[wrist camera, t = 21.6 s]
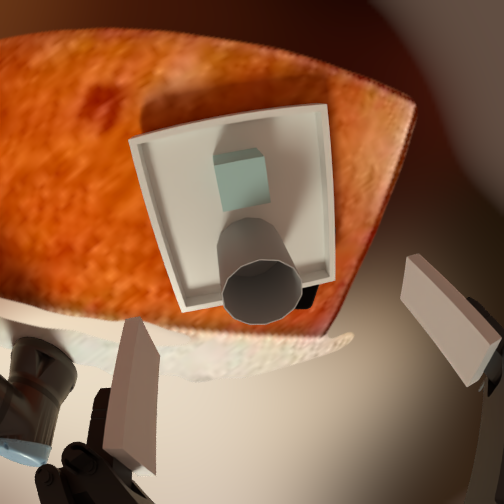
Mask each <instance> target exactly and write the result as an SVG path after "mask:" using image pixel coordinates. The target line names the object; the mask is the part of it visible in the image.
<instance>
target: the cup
mask: <svg viewBox="0 0 504 504" xmlns="http://www.w3.org/2000/svg"><path fill="white" fill-rule="evenodd" d="M216 247H217V257H218V267H219V277H220V286H221V295H222V300H223V305H224V309H225V310H226V311H227V312H228V313H229V314H230V315H231V316H232V317H233V318H234V319H236V320H238V321H241V322H243V323H246V324H249V325H264V324H269V323H271V322H274V321H277V320H280V319H282V318H284V317H285V316H286V315H287V314H289V313H290V312H291V311H292V310H294V309H295V307H296V305H297V304H298V302H299V300H300V298H301V296H302V279H301V277H300V275H299V273H298V271H297V269H296V267H295V265H294V263H293V261H292V259H291V257H290V255H289V253H288V251H287V249H286V247H285V245H284V243H283V241H282V239H281V237H280V235H279V233H278V232H277V230H276V229H275V227H274V226H273V225H272V224H270V223H268V222H267V221H265V220H263V219H261V218H243V219H240V220H238V221H235V222H232V223H231V224H230V225H229V226H228V227H227V228H226V229H225V230H224V231H223V232H222V233H221V234H220V237H219V240H218V243H217V246H216Z"/></svg>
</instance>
